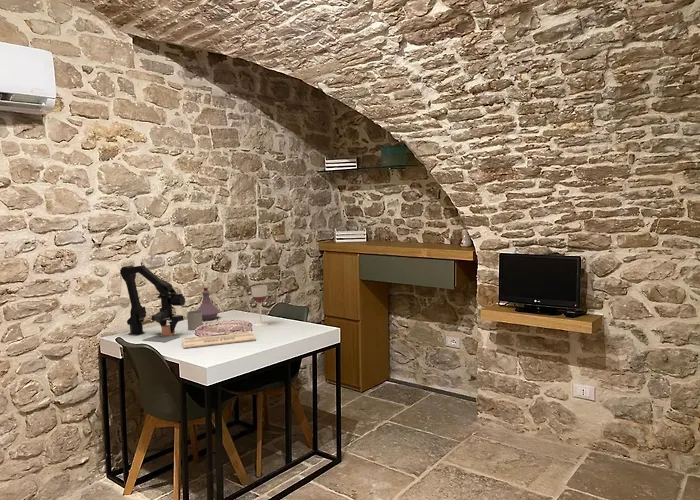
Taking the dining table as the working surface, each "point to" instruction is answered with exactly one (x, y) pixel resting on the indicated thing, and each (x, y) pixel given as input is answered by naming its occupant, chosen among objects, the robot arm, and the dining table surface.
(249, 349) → the dining table surface
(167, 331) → the block
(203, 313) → the flask
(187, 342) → the wooden board
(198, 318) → the cup
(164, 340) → the mat
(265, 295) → the wineglass
